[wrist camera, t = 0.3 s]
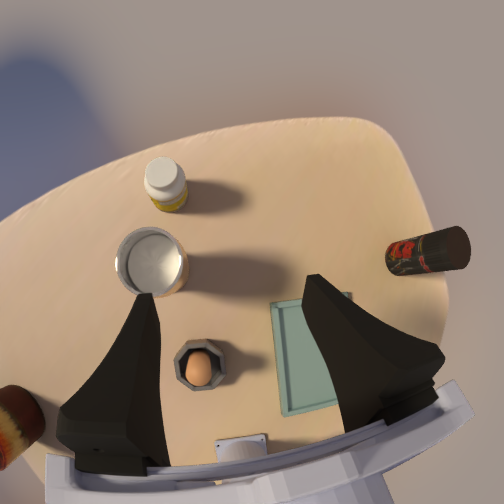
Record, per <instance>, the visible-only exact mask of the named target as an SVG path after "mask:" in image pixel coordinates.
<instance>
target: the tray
mask: <svg viewBox="0 0 504 504" xmlns="http://www.w3.org/2000/svg"><path fill="white" fill-rule="evenodd" d="M341 293H343V294H344V295H345V296H346V297H348V292H341ZM302 299H303V298H301V299H294V300H287V301H280V302H272V303H270V311H271V320H272V330H273V339H274V348H275V358H276V368H277V377H278V387H279V397H280V407H281V414H282V416H283V417H288V416H293V415H297V414H302V413H306V412H310V411H314V410H318V409H322V408H326V407H329V406H333V405H336V404H338V400H337V396H336V393H335V390H334V386H333V383H332V380H331V377H330V374H329V371H328V368H327V366H326V363H325V361H324V359H323V357H322V354H321V352H320V350H319V348H318V346H317V344H316V342H315V340H314V338H313V336H312V334H311V332H310V330H309V328H308V325H307V323H306V320H305V317H304V314H303V311H302V308H301V303H302Z"/></svg>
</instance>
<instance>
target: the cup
mask: <svg viewBox="0 0 504 504" xmlns="http://www.w3.org/2000/svg"><path fill="white" fill-rule="evenodd" d="M197 348H201V349H204V350H206V351H207V352H208V353H209V355H210V363H211V373H212V376H211V379H210V381H209V382H208V383H207V384H206V385H203V386H195V385H193V384H191V383H190V382H189V381H188V380H187V378H186V369H187V364H188V359H189V355H190V353H191V352H192V351H193V350H194V349H197ZM174 366H175V372H176V378H177V380H179V381H180V382H181V383H183V384H184V385H185V386H187V387H188V388H190V389H191V390H192V391H202V390H212V389H215V387H216V386H217V385H218V384H219V383H220V381H221V380H222V379H223V378H224V377H225V376H226V368H225V360H224V354H223V351H222V350H221V349H220V348H218V347H217V346H216V345H214V344H213V343H212V342H211V341H209V340H208V339H198V340H188V341H187V342H186V343H185V344H184V345H183V346H182V348H181V349H180V350H179V351H178V353H177V354H176V356H175V358H174Z"/></svg>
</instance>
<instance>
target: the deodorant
mask: <svg viewBox="0 0 504 504" xmlns="http://www.w3.org/2000/svg"><path fill="white" fill-rule="evenodd" d="M470 256H471V246H470V241H469V238H468V236H467V234H466V232H465V231H464V230H463V229H462V228H461V227H459V226H454V227H450V228H446V229H443V230H439V231H436V232H432V233H428V234H424V235H421V236H417V237H413V238H410V239H406V240H402V241H398V242H395V243H392V244H391V245H390V246H389V247H388V248H387V251H386V255H385V261H386V265H387V267H388V269H389V271H390V272H391V273H392V274H394V275H397V276H401V275H412V274H422V273H431V272H440V271H449V270H458V269H464V268H465V267H466V266H467V265H468V263H469V261H470Z"/></svg>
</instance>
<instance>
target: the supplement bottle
mask: <svg viewBox="0 0 504 504" xmlns="http://www.w3.org/2000/svg"><path fill="white" fill-rule="evenodd" d="M144 185H145V189H146V191H147V193H148V195H149V196H150V198H151V200H152V201H153V203H154V204H155V206H156V207H157V208H158V209H159V210H161V211H163V212H167V213H171V212H176V211H178V210H180V209H181V208H182V207H183V206H184V205H185V203H186V201H187V199H188V189H187V184H186V179H185V174H184V171H183V169H182V168H181V167H180V166H179V165H178V164H177V163H175V162H174V161H173V160H172V159H171V158H168V157H158V158H155V159H153V160H152V161H151V162H150V163H149V164H148V165H147V167H146V170H145V179H144Z"/></svg>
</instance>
